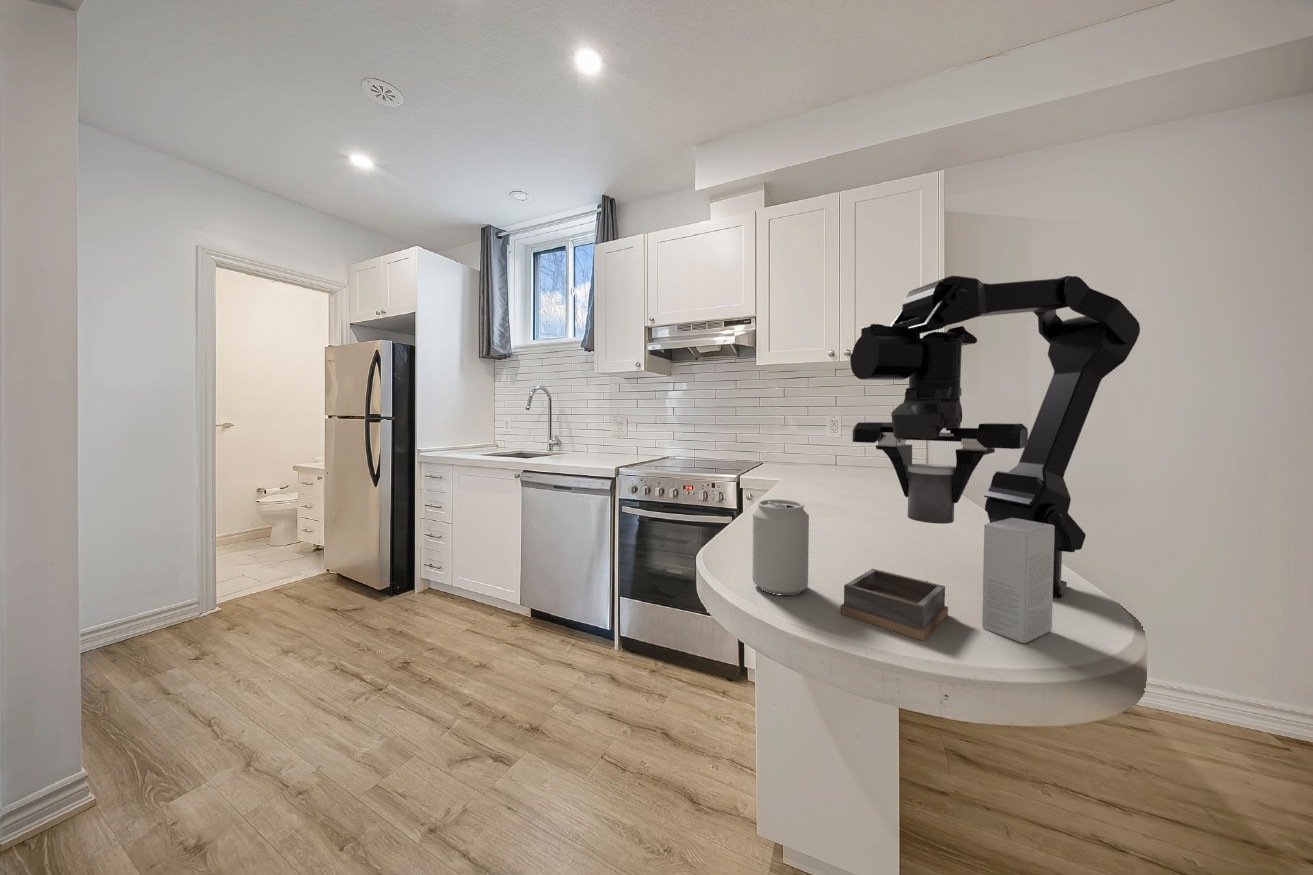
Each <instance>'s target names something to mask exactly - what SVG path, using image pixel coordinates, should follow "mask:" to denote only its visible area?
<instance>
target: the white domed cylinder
mask: <svg viewBox="0 0 1313 875" xmlns="http://www.w3.org/2000/svg"><path fill="white" fill-rule="evenodd" d="M955 469H956V465H949V464H937V463H912V464H909V465H908V471H909V480H908V497H907V518H908V519H910V520H912V521H916V522H921V523H928V524H939V525H940V524H945V525H947V524H952V523H954V521H955V503H953V500H952V490H953V483H954V476H955Z"/></svg>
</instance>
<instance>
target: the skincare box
mask: <svg viewBox="0 0 1313 875" xmlns="http://www.w3.org/2000/svg"><path fill="white" fill-rule="evenodd" d="M983 529H984V530H983V532H984V534H983V565H982V566H983V567H982V568H983V569H982V570H983V571H982V572H983V573H982V574H983V575H982V578H983V580H982V621H981V625H982V628H983V630H986V631H989V632H992V633H994V634H997V635H1000V636H1002V637H1005V638H1008V639H1010V640H1013V641H1015V642H1017V641H1018V642H1017V643H1020V644H1023V643H1024V644H1027V643H1029V642H1031V641H1032V640H1035V639H1038V638H1039V637H1041V636H1043V635H1045V634H1048V633H1050V632H1052V630H1053V601H1054V600H1053V599H1054V598H1053V597H1054V596H1053V568H1054V525H1051V524H1045V523H1040V522H1034V521H1029V520H1023V519H1017V518H1009V519H1005V520H1001V521H996V522H992V523H990V522H989V523H985V524H984V526H983Z"/></svg>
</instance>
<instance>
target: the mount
mask: <svg viewBox="0 0 1313 875" xmlns="http://www.w3.org/2000/svg"><path fill="white" fill-rule="evenodd" d="M843 587H844V588H843V603H842V604H841V605H840V606H839V607H840V608H839V611H840V612H839V614H840V615H843V616H846V617H850V618H852V619H856V620H859V621H862V622H864V623H867V624H871V625H874V626H877V627H879V628H883V629H886V630H889V631H892V632H895V633H897V634H900V635H904V636H907V637H909V638H910V637H911V638H913V639H917V640H919V641H921V642H922V641H923V642H924V641H925V640H926V639H927V638H928V636H930V635H931V634H932V632H934V630H935V629H936V628H937V627H938V626H939V625H940V624H941V623H942V622H943V621H944V620H945V619H946V618H947V617H948V616H949V606H948V605H947V606H946V605H945V602H946V585H942V584H938V583H933V582H929V581H926V580H921V579H917V578H912V577H909V576H904V575H901V574H896V573H892V572H888V571H884V570H880V569H875V568H871V569H869V570H867V571H866V572H865V573H863V574H861V575H859V576H858V577H856V578H854V579H852V580H851V581H849V582H847V583H846V584H844V585H843Z"/></svg>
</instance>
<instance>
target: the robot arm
mask: <svg viewBox="0 0 1313 875" xmlns="http://www.w3.org/2000/svg"><path fill="white" fill-rule="evenodd" d="M1065 308H1069V309H1070V310H1072V311H1073V312H1075V313H1077V314H1079V315H1082V316H1078V317H1073V318H1068V319H1066V320H1062V318H1061V317H1060V316H1059V315H1058V314H1057V310H1061V309H1065ZM1031 312H1032V313H1034V314H1035V315H1036V317H1037V322H1038V326H1037V327H1038V333H1039V335H1040V336H1041V337H1042V338H1043V339H1044V340H1045V341H1046V342H1047V343H1048V344H1049V346H1048V351H1047V356H1048V360H1049V362H1050V364H1051V367H1052V369H1053V375H1052V377H1051V380H1050V382H1049V385H1048V387H1047V391H1046V393H1045V396H1044V397H1043V400H1042V402H1041V406H1040V408H1039V410H1038V413H1037V415H1036V417H1035V421H1034V424H1033V425H1032V428H1031V429H1030V430H1031V431H1030V433H1029V431H1028V428H1027V427H1026V426H1025V425H1024V424H1023V423H1007V422H1006V423H1003V422H1002V423H1001V422H1000V423H997V422H995V423H989V422H987V423H986V422H985V423H978V424H979V425H978V427H961V423H963V409H962V408H963V407H962V404H961V397H962V390H963V389H962V388H961V380H962V379H961V377H962V375H961V374H962V347H964V346H968V345H975V344H977V342H978V338H977V337H976V336H974V334H972V333H970V332H969V331H968V330H966V328H965V326H964V325H961V326H955V327H952V328H949V329H948V330H947V331H937V330H941V329H943V328H945V327H946V326H949V325H955V324H958V323H962V322H966V321H969V320H971V319H975V318H980V317H988V316H989V317H990V316H999V315H1009V314H1010V315H1012V314H1020V313H1031ZM860 330H861V332H860V333H861V336H860V337H858V339H857V340H856V342H855V344H854V347H853V348H852V353H851V354H850V356H849V357H850V359H849V362H850V367H851V371H852V374H853V375H854V376H855V377H856V378H857V379H859V380H866V381H867V380H868V381H869V380H870V381H871V380H873V381H876V380H880V381H883V380H885V381H887V380H889V381H893V380H894V381H903V380H906V379H908V388H907V387H906V388H905V392H904V400H903V402H902V403H899V405H898V406H896V408H894V409H893V411H891V412H890V414H891V415H890V416H891V422H887V421H886V422H884V421H868V422H867V421H865V422H857V423H856V424H855V425H854V427H853V429H852V442H853V443H867V444H870V443H871V444H875V443H877V445H875V449H876V450H880V451H881V450H882V451H883V452H884V454H886V456H887V457H888V458H889V459H890V462H891V465H892V466H893V468H894V470H895V473H896V475H897V479H898V480H899V485H900V487H901V490H902V492H903V496H904V497H905V498H908V480H909V471H908V465H909V464H913V445H912V444H906V442H907V441H928V442H929V441H934V442H960V444H961V445H962V448H958V449H955V461H956V463H955V467H956V469H955V476H954V483H953V490H952V500H953V503H954V504H957V503H958V502H959V501H960V499H961V497H962V495H963V493H964V490H966V486H967V484H968V483H969V480H970V478H971V477H972V474H973V472H974V471H975V469H976V467H977V466H978V464H979V463H980V462H981V460H982V459H983V458H984V456H985V455H990V454H994V453H995V452H996V451H995V450H996V449H1004V450H1005V449H1006V450H1009V449H1011V450H1015V449H1017V450H1020V449H1023V450H1022V454H1021V455H1020V458H1019V461H1018V463H1017V465H1016V466H1014V467H1013V468H1012V469H1010V470H1009V471H1001V470H998V471H996V472H995V473H994V474H993V476H992V479H991V482H990V486H989V488H988V490H987V492H986V493H985V494H984V495H983V496H984V498H986V501H985V504H984V511H985V512H986V513H987V516H988V520H989V523H992V522H996V521H1001V520H1005V519H1009V518H1017V519H1023V520H1029V521H1034V522H1040V523H1045V524H1051V525H1054V568H1053V597H1057V598H1063V596H1064V593H1065V591H1066V589H1067V586H1068V582H1067V581H1064V580H1062V564H1063V552H1067V553H1075V552H1076V551H1079V550H1082V549H1083V546H1084V542H1085V539H1086V536H1087V535H1086V533H1085V531H1084V530H1083V529H1082V528H1081V527H1080V526H1079V524H1078V523H1077V522H1076V520H1074V519H1073V517H1072V516H1071V515H1070V514H1069V510H1070V505H1071V501H1072V498H1071V495H1070V492H1069V490H1068V487H1067V484H1066V482H1065V479H1064V477H1065V473H1066V471H1067V469H1068V466H1069V463H1070V461H1071V457H1072V456H1073V452H1074V450H1075V448H1076V445H1077V443H1078V440H1079V438H1080V435H1081V433H1082V430H1083V427H1084V425H1085V423H1086V420H1087V418H1088V415H1089V412H1090V409H1091V407H1092V404H1093V402H1094V399H1095V397H1096V394H1097V392H1098V388H1099V387H1100V384H1101V382H1102V380H1103V379H1104V378H1105V377H1106V376H1108V375H1109V374H1110V373H1111V372H1113V371H1114V370H1115V369H1116V368H1118V367H1119V366H1120V365H1122V364H1123V363H1124V362H1125V361H1126V360H1127V358H1128V356H1129V355H1130V353H1131V351H1132V350H1133V348H1134V346H1135V344H1136V343H1137V341H1138V339H1139V336H1140V331H1141V326H1140V322H1139V321H1138V319H1137V318H1136V317H1135V315H1133V313H1132V312H1130V310H1129V309H1128V308H1127V307H1126V306H1125V305H1124V303H1123V302H1122V301H1121V300H1119V299H1118V298H1115V297H1113V296H1111V295H1108V294H1105V293H1103V292H1100V291H1098V290H1095V289H1093V288H1091V287H1090V286H1089V285H1088V284H1087V283H1086V282H1085V281H1084V280H1083V279H1082V278H1081V277H1080V276H1077V275H1065V276H1061V277H1058V278H1050V279H1048V278H1047V279H1038V280H1035V279H1034V280H1033V279H1032V280H1021V281H1012V282H1011V281H1010V282H999V283H987V282H986V283H985V282H982V281H980V279H979V278H976V277H969V276H962V275H961V276H959V275H951V276H947V277H945V278H942V279H939V280H936V281H934V282H931V283H928V284H926V285H923V286H921V287H917V288H914V289H911V291H908V293H907V295H906V296H905V298H904V300H903V302H902V307H901V309H900V311H899V312H898V313H897V314H896V317H895V318H894V319H893V320H892V322H891V323H890V325H884V324H879V323H871V324H867V325H864V326H862V327H861V329H860ZM925 333H927V334H925ZM921 334H925V335H923V336H922V337H921ZM943 429H945V431H949V432H941V431H943ZM1028 435H1029V436H1028Z"/></svg>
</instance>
